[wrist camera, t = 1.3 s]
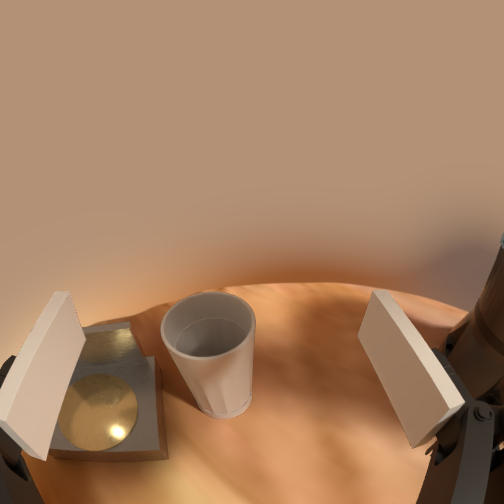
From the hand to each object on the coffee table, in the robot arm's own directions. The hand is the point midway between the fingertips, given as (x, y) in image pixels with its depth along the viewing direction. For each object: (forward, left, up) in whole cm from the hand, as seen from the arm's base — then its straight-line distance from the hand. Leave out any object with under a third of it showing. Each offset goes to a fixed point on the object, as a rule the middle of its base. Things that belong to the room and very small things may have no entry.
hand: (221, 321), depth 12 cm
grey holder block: (+15, -8, -21) cm, 27 cm away
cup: (+1, -9, -21) cm, 23 cm away
